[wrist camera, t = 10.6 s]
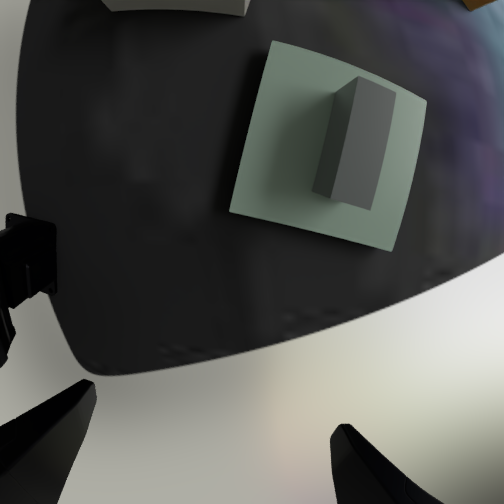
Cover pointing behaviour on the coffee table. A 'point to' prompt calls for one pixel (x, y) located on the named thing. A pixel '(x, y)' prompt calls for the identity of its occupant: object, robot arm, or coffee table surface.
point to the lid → (329, 148)
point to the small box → (476, 3)
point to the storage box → (182, 5)
